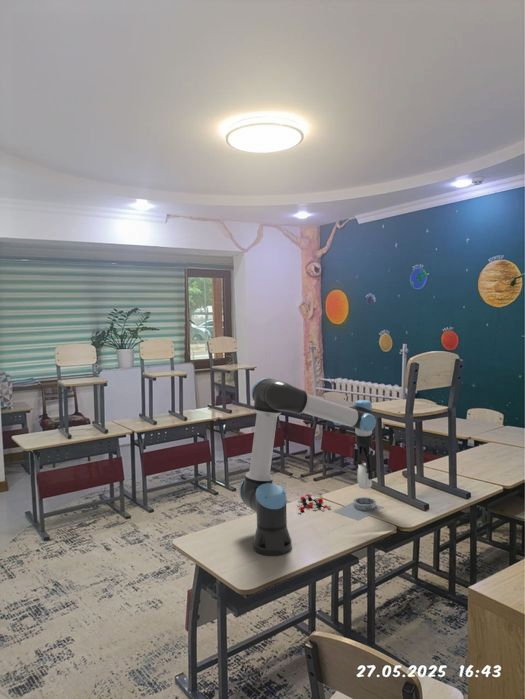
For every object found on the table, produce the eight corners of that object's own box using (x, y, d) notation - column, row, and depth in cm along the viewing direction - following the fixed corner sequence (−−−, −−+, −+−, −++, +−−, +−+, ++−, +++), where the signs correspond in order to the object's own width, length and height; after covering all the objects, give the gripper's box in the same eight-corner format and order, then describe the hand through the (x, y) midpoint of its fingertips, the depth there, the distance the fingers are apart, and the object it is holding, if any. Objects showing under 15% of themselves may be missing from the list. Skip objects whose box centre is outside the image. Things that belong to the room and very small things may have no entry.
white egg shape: (361, 489, 222) (360, 467, 222) (357, 485, 228) (356, 463, 227) (373, 488, 223) (372, 466, 222) (368, 483, 229) (368, 462, 228)
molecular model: (301, 501, 238) (331, 496, 235) (301, 523, 228) (333, 518, 225) (295, 487, 232) (326, 482, 230) (296, 509, 222) (328, 504, 219)
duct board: (358, 523, 211) (358, 519, 211) (333, 514, 221) (332, 511, 221) (384, 509, 225) (384, 506, 225) (359, 501, 235) (359, 499, 235)
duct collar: (358, 511, 220) (358, 506, 220) (350, 503, 230) (350, 498, 230) (379, 509, 222) (379, 504, 222) (371, 501, 232) (371, 496, 231)
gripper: (384, 437, 217) (384, 488, 219) (357, 429, 234) (357, 476, 235) (371, 439, 214) (372, 491, 215) (344, 431, 230) (345, 479, 232)
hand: (364, 483), depth 225 cm, fingers closed on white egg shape, 5 cm apart
